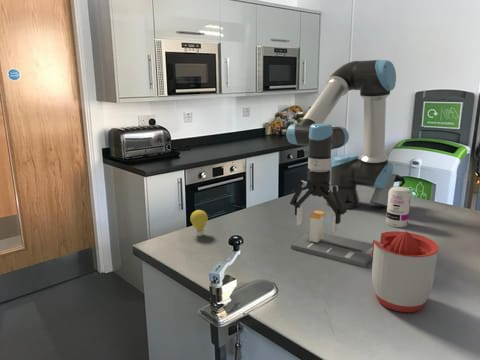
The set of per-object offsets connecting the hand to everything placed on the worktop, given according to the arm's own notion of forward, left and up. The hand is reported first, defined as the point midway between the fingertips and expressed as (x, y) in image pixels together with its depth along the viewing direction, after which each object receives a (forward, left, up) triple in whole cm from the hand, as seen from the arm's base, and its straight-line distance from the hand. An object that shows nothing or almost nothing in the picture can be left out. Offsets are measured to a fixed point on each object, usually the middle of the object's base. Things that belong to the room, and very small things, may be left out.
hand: (316, 228), depth 141 cm
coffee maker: (-53, +8, -5) cm, 54 cm away
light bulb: (+16, -41, -7) cm, 44 cm away
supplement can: (-36, +19, -7) cm, 41 cm away
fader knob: (0, 0, -4) cm, 4 cm away
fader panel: (0, +7, -6) cm, 9 cm away
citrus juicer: (+22, +33, -7) cm, 40 cm away
